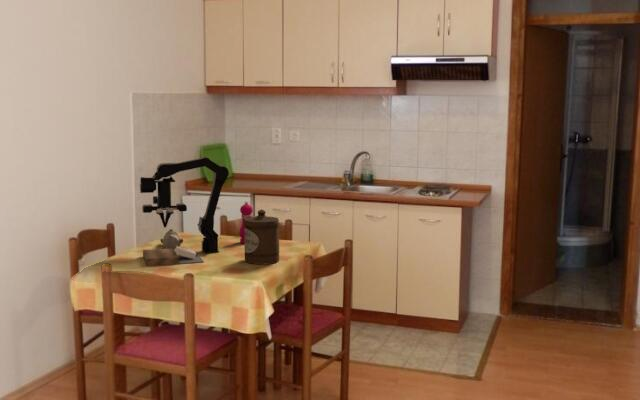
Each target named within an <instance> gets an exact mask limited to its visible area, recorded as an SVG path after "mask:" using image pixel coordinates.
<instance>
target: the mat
mask: <svg viewBox="0 0 640 400" xmlns="http://www.w3.org/2000/svg"><path fill="white" fill-rule="evenodd" d="M178 258H179V265H185V264H187V265H188V264H202V263H205V261H204V260H203V259H202V257H201V256H200V255H199V253H196V256H195V259H192V258H188V257H184V256H181V255H178Z"/></svg>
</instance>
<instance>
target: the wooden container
mask: <svg viewBox="0 0 640 400" xmlns="http://www.w3.org/2000/svg"><path fill="white" fill-rule="evenodd" d="M266 214H267V213H266V210H264V209H259V210H258V211H257V216H252V217H248V218H245V220H244V225H245V241H244V242H245V243H244V244H243V246H244V248H243V249H244V261H245V263H248V264H252V265H271V264H275V263H276V264H277V263H278V262H279V261H280V231H279V230H280V229H279V227H280V226H279V225H280V221H279V217H278V218H277V217H275V216H267V215H266Z"/></svg>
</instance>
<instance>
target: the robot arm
mask: <svg viewBox="0 0 640 400" xmlns="http://www.w3.org/2000/svg"><path fill="white" fill-rule="evenodd" d="M204 167H205V168H207V169H209V170H211V171H212V172H213V174H212V187H211V191H210V194H209V198H208V201H207V205H206V210H205V211H204V215H203V216H199V218H198V223H197V228H198V231H199V232H200V233H201V235H203V237H202V240H201V250H202V252H203V253H204V254H208V253H210V254H211V253H219V252H220V251H219V234H218V233H217V232H216V230H215V229H214V227H215V226H214V225H215V213H216V209H217V206H218V203H219V199H220V195H221V193H222V189H223V186H224V184H225V183H226V181H227V179H228V177H229V174H230V172H229V168H227V167H226V166H225V165H221V164H217V163H216V162H214V161H213V160H211V159H210V158H209V157H207V156H203V157H200V158H195V159H190V160H185V161H181V162H163V163H159V164H158V165H157V168H156V171H155V173H154V174H153V175H152V177H143V176H141V177H139V178H140V179H139V180H140V182H139V183H140V184H139V193H140V194H153V193H154V192H155V191H157V195H156V196H152V204H143V205H142V208H141V209H142V213H144V214H147V213H149V214H151V213H152V212H154V211H155V214H156V215H159V217H160V220H161V222H162V226H163V228H167V226H168V223H169V220H170V218H171V216H172V214H173V215H174V213H175V212H174V211H175V210H176V211H179V212H187V211H188V210H187V209H188V208H187V207H188V206H187V205H186V204H185V203H176V205H172V188H171V187H172V186H171V185H172V183H175V182H176V180H175V179H174V178H173V177H172V176H173V175H175V174H177V173H180V172H185V171H189V170H194V169H198V168H204ZM161 179H162V180H161ZM153 205H154V206H153ZM164 211H165V213H164Z"/></svg>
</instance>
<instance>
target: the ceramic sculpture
mask: <svg viewBox="0 0 640 400" xmlns="http://www.w3.org/2000/svg"><path fill="white" fill-rule="evenodd" d="M183 242H184V239H183V238H180V236H179V234H178V233H177V232H176V231H174V230H173V229H172V228H171V229H169V230H168V231H167V232H166V233H165V234H164V236H163V237H162V238H160V243H161V244H162V246H163V247H164V249H171V248H173V249H174V250H175V249H176V246H179V245H181V244H182V243H183Z"/></svg>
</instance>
